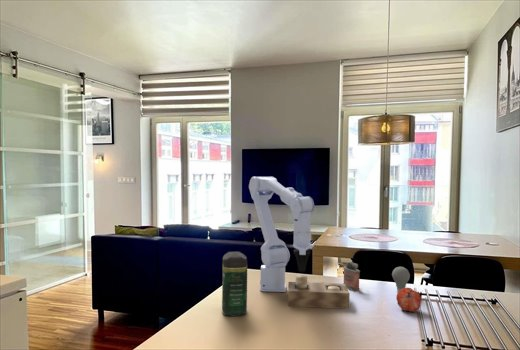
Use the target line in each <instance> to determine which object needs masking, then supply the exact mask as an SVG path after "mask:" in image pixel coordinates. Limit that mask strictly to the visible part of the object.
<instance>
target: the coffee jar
mask: <svg viewBox="0 0 520 350" xmlns="http://www.w3.org/2000/svg"><path fill="white" fill-rule="evenodd" d="M221 276H222V279H221V280H222V285H221V288H222V289H221V290H222V291H221V310H222V313H223V314H224V315H226V316H231V317H238V316H241V315H245V314H247V310H248V309H247V308H248V306H247V305H248V257H247V256H246V255H245V254H244V253H242V252H241V251H228V252H226V253H225V254H224V255H223V256H222V275H221Z"/></svg>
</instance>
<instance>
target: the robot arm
mask: <svg viewBox="0 0 520 350" xmlns="http://www.w3.org/2000/svg"><path fill="white" fill-rule="evenodd" d="M248 189H249V193H250V195H251V199H252V200H253V203H254V207H255V211H256V214H257V218H258V221H259V225H260V228H261V232H262V235H263V239H264V240H263V241H264V243H263V244H262V245H261V247H260V251H261V252H260V254H261V261H262V264H261V266H260V280H259V284H260V288H259V289H260V290H259V292H271V293H272V292H273V293H274V292H275V293H276V292H277V293H286V292H287V284H286V266H287V265H288V262H289V261H290V259H291V258H290V257H291V254H290V251H289V249H288V247H287V245H286V242H284V241H283V240H282V239H280V238H279V236H278V232H277V229H276V226H275V223H274V220H273V216H272V212H271V209H270V206H269V203H268V202H269V200H270V199H272V196H273V195H274V194H276V195H278V196H279V198H280V200H281V202H282V203H284V204H285V205H287V206H288V207H289V209H290V211H291V214H292V217H291V218H292V219H293V244H292V246H293V248H294V249H293V254H294V256H295V259H296V264H297V270H298V272H300V273H305V272H306V268H307V263H308V259H309V257H310V255H311V250H310V248H314V247H315V246H314V243H311V213H313V211H314V209H315V203H314V199H313V197H311V196H310V195H309V196H308V195H307V196H303V194H302V193H301V192H298V191H296V190H295V188H293V187H285V186H284V185H282V184H281V183H280V182H278V179H277V178H276V177H274V176H271V175H270V176H252V177H251V178H250V180H249V184H248Z"/></svg>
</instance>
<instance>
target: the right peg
mask: <svg viewBox="0 0 520 350" xmlns="http://www.w3.org/2000/svg"><path fill="white" fill-rule="evenodd" d="M328 290H340V288H339V287H337V286H329V287H328Z"/></svg>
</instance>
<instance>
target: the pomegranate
mask: <svg viewBox="0 0 520 350" xmlns="http://www.w3.org/2000/svg"><path fill="white" fill-rule="evenodd" d="M396 293H397V292H396ZM396 301H397V305H398V307H399V308H400V309H402V310H403V311H405V312H412V313H413V312H414V313H415V312H418V310H419V309H420V308H421V306H422V297H421V294H420V293H419V292H418V291H415V290H414V289H412V288H411V287H405V288H403V289H402V290H401V291H399V292H398V293H397V294H396Z"/></svg>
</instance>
